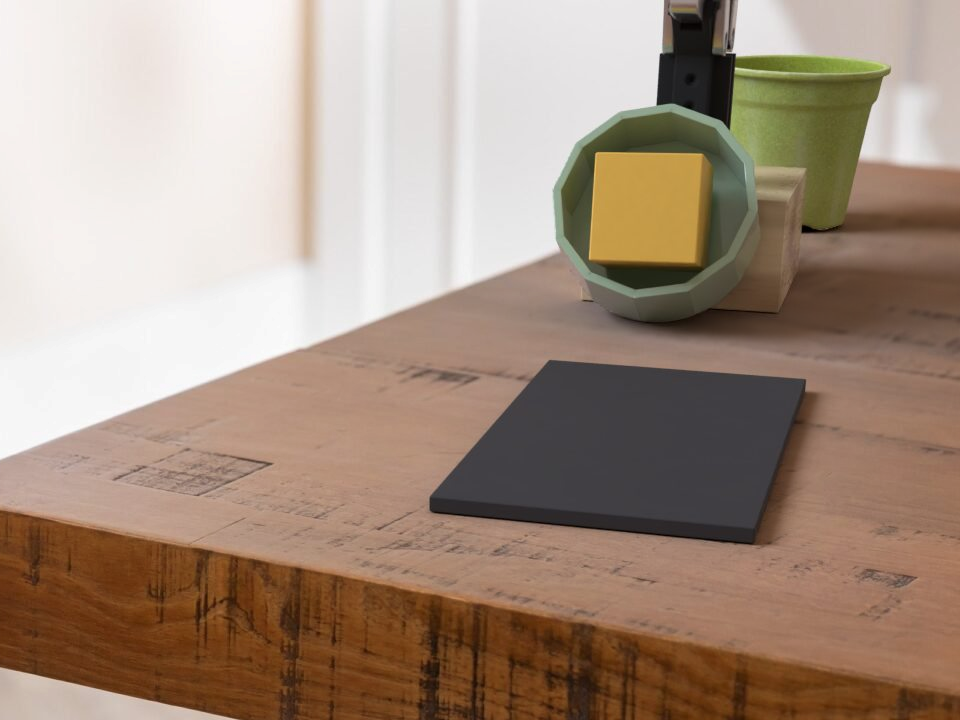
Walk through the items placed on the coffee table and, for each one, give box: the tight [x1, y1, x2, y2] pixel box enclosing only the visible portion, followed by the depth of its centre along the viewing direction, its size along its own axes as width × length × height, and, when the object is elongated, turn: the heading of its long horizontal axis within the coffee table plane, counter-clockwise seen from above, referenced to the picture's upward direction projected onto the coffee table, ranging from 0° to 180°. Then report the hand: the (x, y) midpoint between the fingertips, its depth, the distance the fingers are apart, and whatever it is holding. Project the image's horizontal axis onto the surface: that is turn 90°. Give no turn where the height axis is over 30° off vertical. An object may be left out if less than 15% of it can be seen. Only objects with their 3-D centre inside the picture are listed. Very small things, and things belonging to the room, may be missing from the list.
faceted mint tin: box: [551, 104, 761, 323], centre depth 82 cm, size 9×9×4 cm
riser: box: [580, 166, 807, 314], centre depth 89 cm, size 10×9×5 cm
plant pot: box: [730, 54, 892, 230], centre depth 103 cm, size 9×9×9 cm
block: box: [589, 152, 714, 272], centre depth 80 cm, size 4×4×4 cm
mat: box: [428, 359, 807, 544], centre depth 65 cm, size 18×10×1 cm, turn 163°
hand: (691, 143), depth 85 cm, fingers closed
